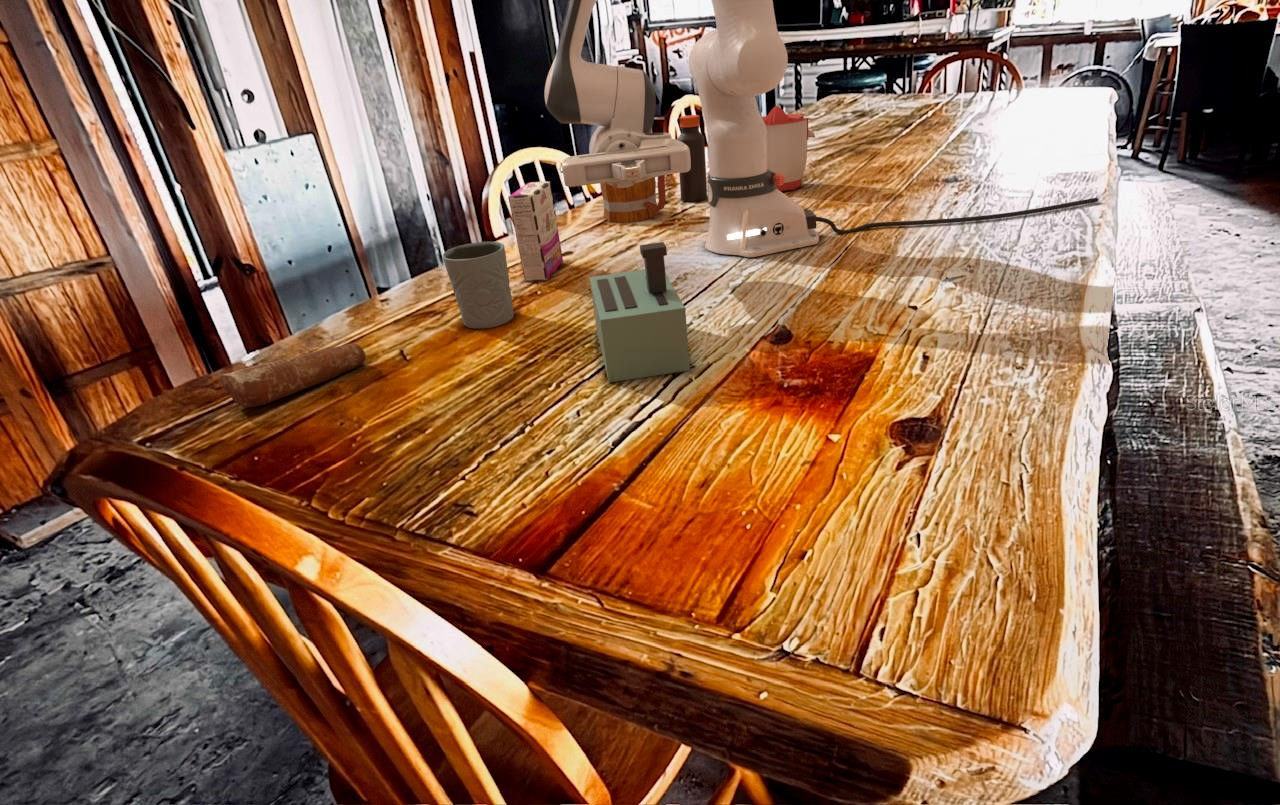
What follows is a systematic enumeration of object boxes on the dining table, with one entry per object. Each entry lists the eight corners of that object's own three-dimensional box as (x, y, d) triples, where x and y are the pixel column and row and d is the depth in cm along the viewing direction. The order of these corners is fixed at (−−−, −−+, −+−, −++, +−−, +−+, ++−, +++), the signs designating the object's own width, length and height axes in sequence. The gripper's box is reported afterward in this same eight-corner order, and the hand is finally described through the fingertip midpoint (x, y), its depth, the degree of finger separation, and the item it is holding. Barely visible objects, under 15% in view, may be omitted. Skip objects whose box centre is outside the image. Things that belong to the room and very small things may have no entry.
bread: (229, 406, 98) (214, 371, 96) (360, 359, 109) (349, 325, 107) (242, 420, 94) (227, 383, 92) (377, 369, 105) (366, 335, 102)
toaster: (666, 322, 110) (661, 265, 106) (689, 370, 94) (685, 306, 90) (596, 332, 109) (589, 275, 105) (608, 382, 94) (600, 318, 89)
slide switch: (667, 286, 97) (663, 241, 94) (670, 291, 95) (666, 246, 92) (644, 289, 97) (639, 245, 94) (646, 294, 95) (642, 249, 92)
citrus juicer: (820, 190, 176) (822, 105, 167) (751, 197, 177) (749, 112, 168) (807, 178, 190) (809, 98, 181) (743, 184, 191) (741, 105, 182)
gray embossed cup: (489, 334, 113) (474, 261, 107) (445, 326, 118) (428, 256, 112) (530, 311, 120) (517, 242, 115) (486, 305, 125) (472, 238, 120)
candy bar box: (540, 263, 145) (527, 182, 137) (564, 262, 144) (551, 180, 136) (522, 282, 135) (506, 195, 127) (547, 281, 134) (532, 194, 126)
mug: (592, 218, 174) (584, 155, 167) (633, 206, 182) (627, 145, 174) (645, 229, 161) (638, 161, 153) (687, 215, 168) (683, 149, 161)
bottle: (711, 196, 183) (708, 114, 173) (699, 202, 178) (695, 118, 168) (689, 195, 186) (683, 114, 177) (676, 201, 181) (670, 119, 172)
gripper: (555, 146, 115) (559, 160, 102) (678, 131, 116) (697, 142, 104) (561, 186, 118) (566, 204, 105) (681, 170, 119) (699, 186, 107)
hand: (632, 173), depth 105 cm, fingers closed
